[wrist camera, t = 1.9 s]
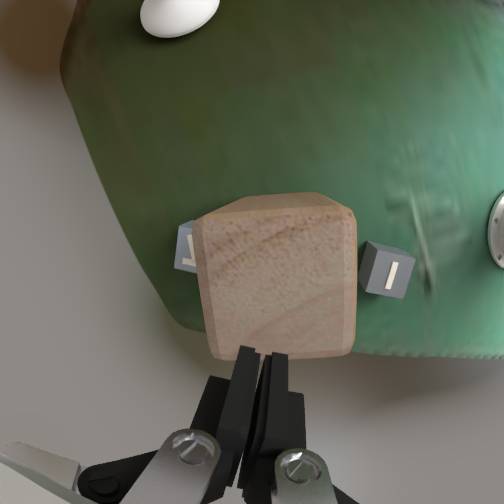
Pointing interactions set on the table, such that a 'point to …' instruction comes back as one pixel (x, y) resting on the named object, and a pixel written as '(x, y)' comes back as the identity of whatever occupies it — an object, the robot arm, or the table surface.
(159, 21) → the flower in vase
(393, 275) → the charcoal block marked 1
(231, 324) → the wooden block
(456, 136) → the table surface
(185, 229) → the slate block marked 7
